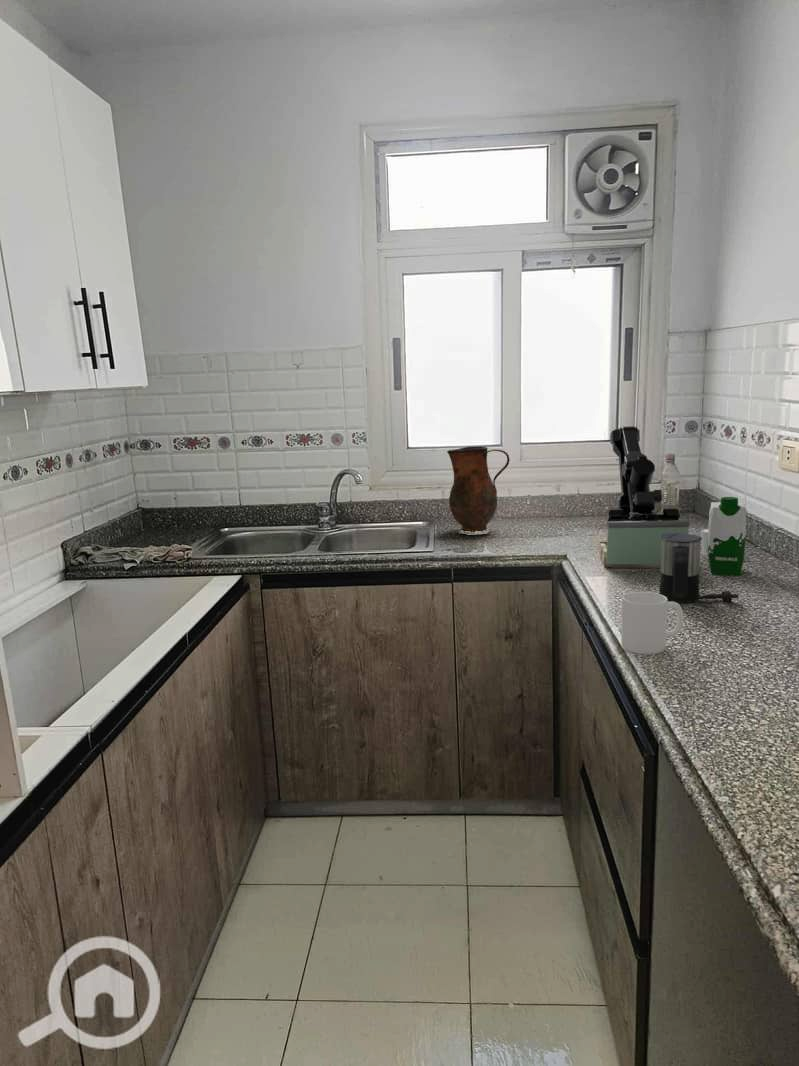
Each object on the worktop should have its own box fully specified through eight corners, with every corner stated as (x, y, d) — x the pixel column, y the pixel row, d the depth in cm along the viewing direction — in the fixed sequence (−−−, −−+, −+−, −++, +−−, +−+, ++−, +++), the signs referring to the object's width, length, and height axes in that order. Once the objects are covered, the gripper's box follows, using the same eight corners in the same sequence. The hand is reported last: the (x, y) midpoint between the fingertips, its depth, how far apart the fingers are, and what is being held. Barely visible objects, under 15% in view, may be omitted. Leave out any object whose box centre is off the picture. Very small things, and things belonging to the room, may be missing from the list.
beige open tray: (599, 557, 208) (599, 540, 207) (674, 556, 204) (675, 539, 203) (604, 567, 196) (604, 550, 195) (684, 567, 193) (684, 549, 192)
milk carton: (708, 575, 185) (711, 499, 180) (705, 566, 193) (708, 493, 189) (745, 576, 182) (749, 499, 177) (741, 567, 190) (745, 494, 186)
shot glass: (728, 557, 201) (729, 533, 200) (702, 557, 202) (703, 533, 201) (722, 551, 208) (723, 528, 206) (697, 551, 209) (698, 528, 208)
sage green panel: (605, 561, 196) (607, 520, 190) (683, 561, 192) (688, 519, 186) (606, 565, 194) (608, 523, 188) (684, 564, 191) (689, 522, 185)
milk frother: (653, 592, 173) (654, 533, 170) (719, 590, 172) (721, 530, 169) (672, 611, 159) (674, 546, 156) (744, 608, 158) (748, 544, 155)
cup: (614, 641, 142) (615, 593, 140) (672, 636, 143) (673, 588, 141) (631, 657, 134) (632, 605, 132) (692, 651, 135) (694, 601, 133)
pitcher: (450, 528, 258) (447, 446, 252) (509, 527, 256) (508, 443, 249) (449, 538, 242) (446, 450, 235) (512, 537, 239) (510, 448, 233)
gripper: (608, 480, 194) (613, 528, 186) (679, 478, 191) (687, 527, 183) (604, 503, 204) (608, 550, 195) (672, 502, 201) (679, 549, 192)
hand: (645, 543), depth 191 cm, fingers closed, pressing on sage green panel
